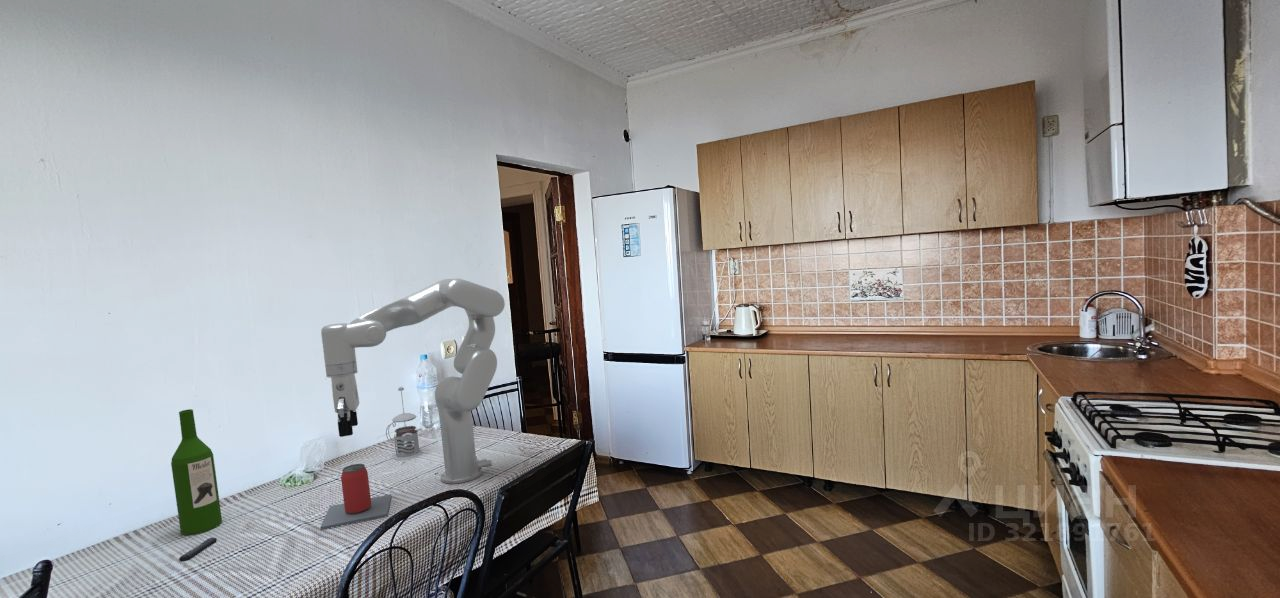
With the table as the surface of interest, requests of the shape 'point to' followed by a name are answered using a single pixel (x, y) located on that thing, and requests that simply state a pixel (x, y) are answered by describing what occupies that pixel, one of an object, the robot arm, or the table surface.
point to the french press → (405, 437)
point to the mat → (340, 517)
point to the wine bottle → (195, 481)
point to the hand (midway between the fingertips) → (349, 430)
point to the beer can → (355, 489)
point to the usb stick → (197, 549)
